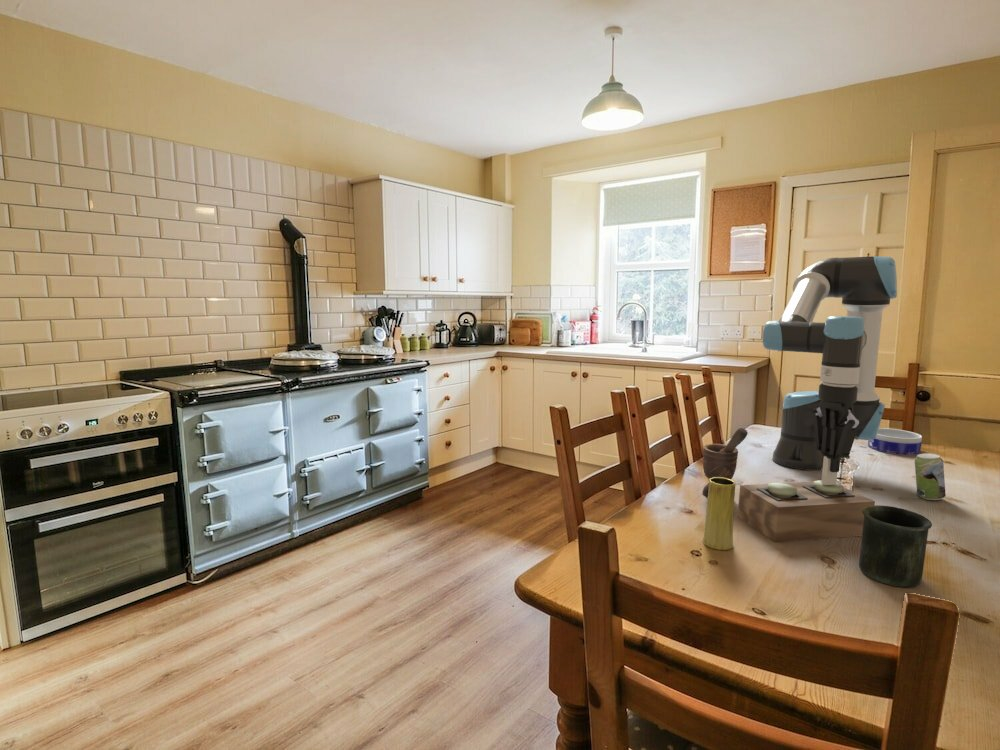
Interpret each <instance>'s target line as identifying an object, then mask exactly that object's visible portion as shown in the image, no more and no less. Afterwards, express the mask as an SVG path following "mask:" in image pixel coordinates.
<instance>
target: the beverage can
mask: <svg viewBox="0 0 1000 750" xmlns="http://www.w3.org/2000/svg"><path fill="white" fill-rule="evenodd" d="M914 467H915V468H914V470H915V483H916V495H917V496H919V497H920V498H921V499H923V500H927V501H940V500H943V499H944V498H945V497H946V494H947V493H946V482H945V469H944V467H945V465H944V460H943V459H942V458H941V455H939V454H936V453H928V452H927V453H925V452H923V453H919V454H917V455H916V457H915V458H914Z"/></svg>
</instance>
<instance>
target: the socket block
mask: <svg viewBox="0 0 1000 750" xmlns="http://www.w3.org/2000/svg"><path fill="white" fill-rule="evenodd" d="M814 481H815V480H814ZM814 481H813V480H812V481H796V482H795V481H793V482H783V483H784V484H788V485H791V486H794V487H796V488H797V494H796V495H794V496H791V497H788V498H778V497H776V496H774V495H772V493H771V492H769V491H768V484H769V483H757V484H755V483H754V484H741V485H739V496H738V507H737V508H738V509H737V510H738V511H737V517H738V518H739V519H740V520H742V521H744V522H745V523H746V524H747V525H749V526H751V527H752V528H753V529H755V530H756V531H758V532H759V531H760V533H761V534H762V533H763V535H764V536H765V537H767V538H768V539H770V540H771V541H772V542H774V543H782V542H783V541H784V542H795V541H796V540H798V541H808V540H809V541H810V540H823V539H837V538H839V539H840V538H847V537H849V538H850V537H862V532H863V523H864V515H863V513H862V510H863V509H864V508H865V507H868V506H875V505H876V500H873V499H870V498H869V497H866V496H864V495H862V494H859V493H857V492H854V491H853V490H851V489H848V488H846V487H844V489H843V492H842V493H838V495H825V494H823V493H821V492H819V491H818V490H817V489H815V488H814ZM784 542H783V543H784ZM796 542H797V541H796Z"/></svg>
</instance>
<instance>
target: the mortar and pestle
mask: <svg viewBox="0 0 1000 750" xmlns="http://www.w3.org/2000/svg"><path fill="white" fill-rule="evenodd" d="M748 434H749V433H748V431H747V430H746V428H743V427H740V428H738V429H737V430H736V431H735V432H734V433H733V435H732V436H731V438H730V440H729V441H728V443H727V444H722V443H709V444H705V445H704V446H703V450H702V452H703V453H702V468H703V473H704V476H705V477H706V478H707V480H709V479H710V478H713V477H723V478H728V479H731V480H733V477H734V475H735V472H736V469H737V465H738V464H737V463H738V456H739V454H738V453H739V450H738V449H737V447H738V446H739V445H740V444H742V442H743V441H744V440H745V439H746V438H747V436H748ZM708 486H709V482H708V483H707V484H706V485H704V487H703V488H702V494H703V495H704V496H705V497H708Z"/></svg>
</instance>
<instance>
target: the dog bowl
mask: <svg viewBox="0 0 1000 750" xmlns="http://www.w3.org/2000/svg"><path fill="white" fill-rule="evenodd" d="M922 441H923V436H922V435H921V434H920V433H917V432H913V431H908V430H903V429H898V428H887V427H879V429H878V432H877V436H876V437H875V439H873V440H867V442H868V443H867V446H868V448H870V449H872V450H874V451H877V452H881V453H885V454H891V455H900V456H917V455H918V454H921V448H922V443H923V442H922Z"/></svg>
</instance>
